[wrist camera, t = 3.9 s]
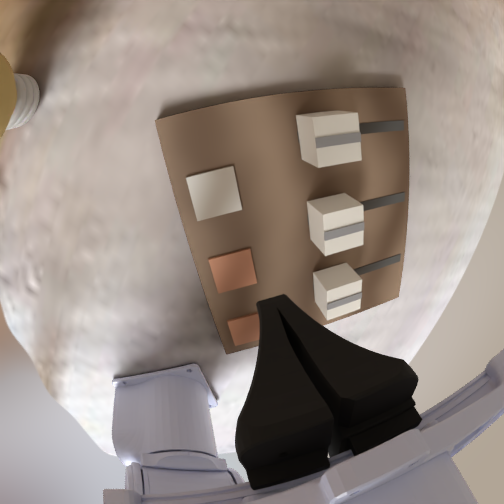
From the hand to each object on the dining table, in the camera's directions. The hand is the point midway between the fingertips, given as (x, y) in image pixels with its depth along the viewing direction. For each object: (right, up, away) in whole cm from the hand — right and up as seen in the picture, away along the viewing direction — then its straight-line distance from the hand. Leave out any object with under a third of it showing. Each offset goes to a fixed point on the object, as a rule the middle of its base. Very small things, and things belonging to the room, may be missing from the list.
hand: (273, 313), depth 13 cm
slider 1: (+3, +10, +5) cm, 12 cm away
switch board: (+3, +5, +9) cm, 11 cm away
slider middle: (+4, +5, +8) cm, 10 cm away
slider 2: (+6, 0, +11) cm, 12 cm away
